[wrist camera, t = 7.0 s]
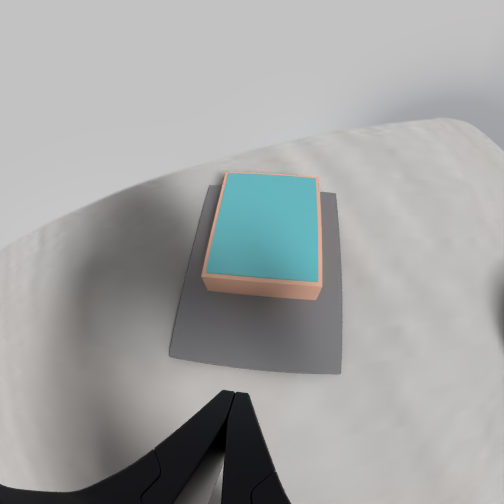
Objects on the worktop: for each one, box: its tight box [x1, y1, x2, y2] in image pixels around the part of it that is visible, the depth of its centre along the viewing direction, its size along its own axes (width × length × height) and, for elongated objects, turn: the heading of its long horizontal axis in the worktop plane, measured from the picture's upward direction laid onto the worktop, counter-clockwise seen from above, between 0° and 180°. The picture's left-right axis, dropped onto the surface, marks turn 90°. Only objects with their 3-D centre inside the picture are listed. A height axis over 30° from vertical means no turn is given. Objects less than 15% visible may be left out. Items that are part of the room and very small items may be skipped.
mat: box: [169, 185, 342, 374], centre depth 22 cm, size 16×12×1 cm
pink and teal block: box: [201, 172, 322, 300], centre depth 21 cm, size 3×8×10 cm
